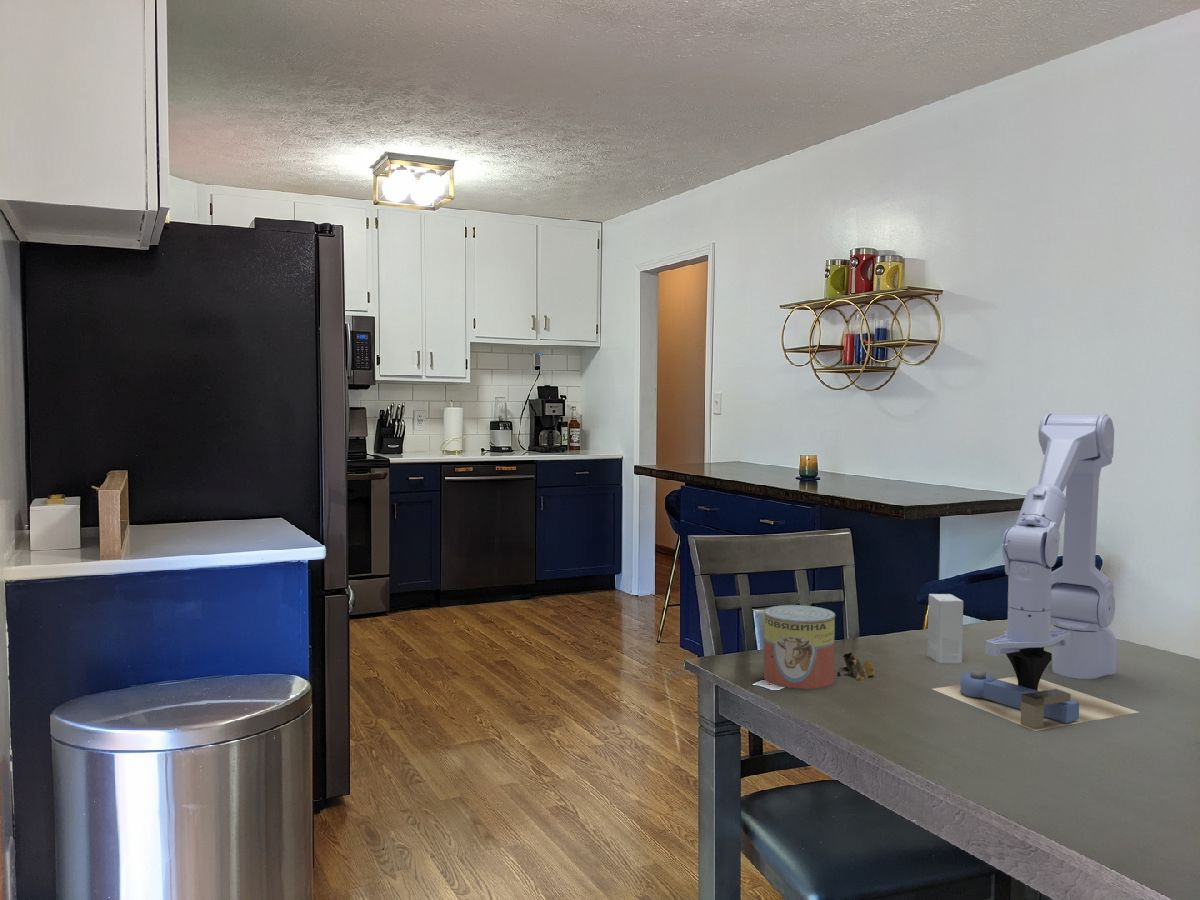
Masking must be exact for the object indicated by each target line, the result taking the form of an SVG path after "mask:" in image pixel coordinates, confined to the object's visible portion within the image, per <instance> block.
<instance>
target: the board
mask: <svg viewBox="0 0 1200 900" xmlns="http://www.w3.org/2000/svg"><path fill="white" fill-rule="evenodd" d="M997 679H998V680H1001V681H1005V682H1008V683H1012V684H1016V685H1018V679H1017V676H1016V675H1015V676H1011V677H1010V676H1009V677H1003V678H997ZM1052 689H1058V690H1061V691H1064V692H1067V693H1070V694H1071V695H1070V700H1073V701H1077V702H1079V719H1078V720H1075V721H1072V722H1069V723H1064V722H1061V721H1058V720H1055V719H1051V718H1048V717H1045V716H1044V726H1043V728H1042V729H1036V730H1034V729H1031V728H1029V727H1026V726H1024V725H1021V709H1018V708H1015V707H1011V706H1008V705H1005V704H1002V703H998V702H995V701H992V700H988V699H985V698H977V697H971V696H967V695H964V694H962V693H961V692H960V684H955V685H948V686H942V687H935V688H931V690H933V691H935V692H937V693H939V694H942V695H945V696H947V697H950V698H952V699H955V700H957V701H960V702H962V703H964V704H968V705H970V706H972V707H975V708H977V709H979V710H981V711H985V712H986V713H989V714H992V715H994V716H997V717H999V718H1002V719H1004V720H1007V721H1010V722H1012V723H1015V724H1016V725H1020V726H1022V727H1024V728H1027V729H1029V730H1032V731H1034V732H1037V731H1044V730H1049V729H1054V728H1061V727H1066V726H1071V725H1077V724H1082V723H1089V722H1092V721H1093V722H1094V721H1100V720H1106V719H1110V718H1111V719H1112V718H1117V717H1122V716H1123V717H1124V716H1128V715H1132V714H1133V715H1134V714H1139V713H1140V711H1137V710H1135V709H1132V708H1128V707H1125V706H1122V705H1119V704H1116V703H1114V702H1110V701H1109V700H1108V701H1107V700H1104V699H1103V698H1099V697H1095V696H1093V695H1090V694H1088V693H1083V692H1081V691H1078V690H1075V689H1073V688H1072V689H1071V688H1069V687H1066V686H1063V685H1060V684H1057V683H1053V682H1052V681H1051V682H1050V681H1048V680H1046V679H1041V678H1040V681H1039V684H1038V691H1046V690H1052Z"/></svg>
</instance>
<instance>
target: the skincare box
mask: <svg viewBox="0 0 1200 900" xmlns="http://www.w3.org/2000/svg"><path fill="white" fill-rule="evenodd" d="M927 608H928V609H927V611H928V614H927V616H928V617H927V619H928V620H927V652H926V653H927V657H930V658H931V659H932V660H933V661H935V662H936V663H937V664H962V663H963V641H964V640H963V638H964V637H963V633H964V632H963V631H964V630H963V629H964V600H963V599H960V598H958V597H957V596H955V595H954V594H951V593H929V594H928V607H927Z"/></svg>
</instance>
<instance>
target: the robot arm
mask: <svg viewBox="0 0 1200 900" xmlns="http://www.w3.org/2000/svg"><path fill="white" fill-rule="evenodd" d="M1113 423H1114V422H1113V419H1112V418H1111V417H1110V416H1109V415H1108V414H1107V413H1102V414H1053V413H1046V414H1045V415H1044V416H1043V417H1042V418H1041V420H1040V422H1039V426H1038V432H1037V433H1038V442H1039V445H1040V447H1041V452H1042V454H1043V455H1044V458H1043V461H1042V464H1041V465H1042V466H1041V470H1040V473H1039V480H1038V483H1037V485H1035V486H1032V487H1030V488H1029V489H1028V490H1027V492H1026V495H1025V497H1024V500H1023V503H1022V505H1021V508H1020V511H1019V514H1018V515H1017V519H1016V522H1015V524H1014V525H1013V526H1011V527H1007V529H1005V531H1004V533H1003V534H1004V535H1003V537H1002V538H1003V539H1002V545H1001V547H1002V548H1001V552H1002V557H1003V561H1004V572H1005V575H1007V576H1008V578H1007V579H1008V580H1007V581H1008V585H1007V586H1008V588H1007V589H1008V590H1007V591H1008V592H1007V630H1004V631H1003V634H1002V635H1000V636H999V635H998V636H997V637H995V638H990V639H987V640H985V650H984V651H985V652H984V653H985V654H986V655H990V656H993V657H1001V656H1002V655H1004V654H1005V655H1006V656H1007V659H1008V660H1009V662H1010V664H1011V667H1012V668H1013V670H1014V673H1015V676H1017V679H1018V685H1019V686H1023V687H1026V688H1030V689H1034V690H1037V691H1038V684H1039V681H1040V679H1041V678H1042V676H1043V674H1044V672H1045V670H1046V668H1047V666H1048V665H1049V664H1050V663H1052V664H1051V665H1052V667H1051V670H1052V673H1055V674H1057V675H1059V676H1063V677H1067V678H1073V679H1079V680H1093V679H1099V678H1101V677H1104V676H1105V677H1106V676H1110V675H1115V674H1116V673H1117V669H1116V668H1117V647H1118V646H1117V639H1116V636H1115V634H1114V632H1113V630H1112V629H1111V628H1109V626H1111V624H1112V623H1113V622H1114V618H1115V612H1116V600H1115V594H1114V584H1113V583H1114V582H1113V581H1112V580H1111V579H1110V578H1109V576H1107V575H1105V574H1104V573H1103V572H1102V571H1101V570H1099V569H1098V567H1096V554H1097V553H1096V552H1097V529H1098V510H1099V509H1098V507H1099V492H1100V491H1099V487H1100V476H1101V472H1102V468H1103V467H1107V466H1109V465H1112V461H1113V458H1114V448H1115V447H1114V446H1115V427H1114V424H1113ZM1064 492H1065V493H1064ZM1063 517H1064V527H1063V547H1062V549H1063V551H1062V565H1061V566H1060V567H1058V568H1056V569H1055V570H1053V571H1052V567H1054V566H1055V564H1056V563H1057V561H1058V557H1059V549H1060V546H1059V545H1060V540H1061V534H1060V526H1061V524H1062V520H1063ZM1087 586H1088V587H1087ZM1052 625H1053V627H1052V628H1053V629H1052V630H1051V626H1052ZM1046 648H1052V652H1050V651H1046V650H1045V649H1046ZM1051 661H1052V662H1051Z"/></svg>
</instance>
